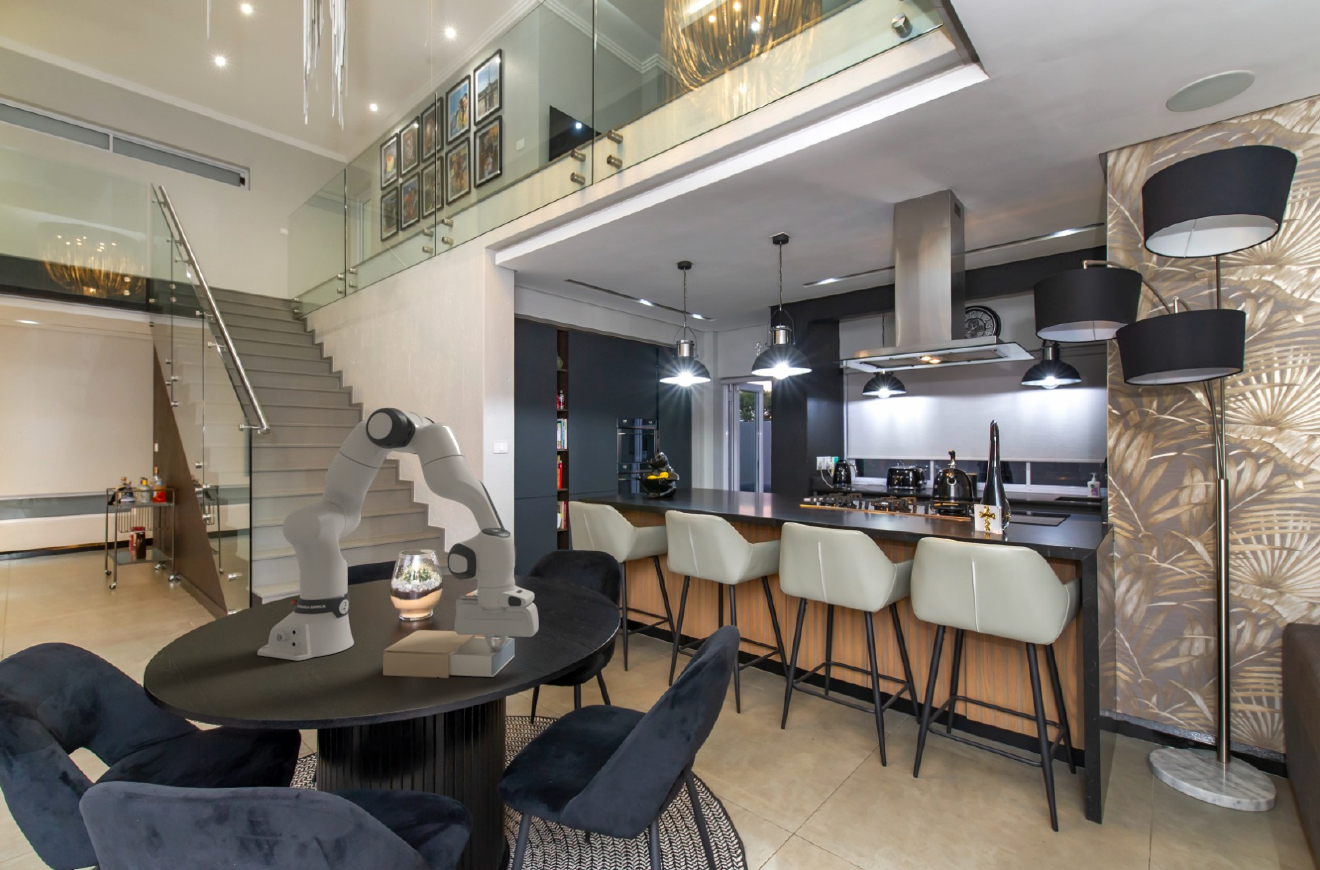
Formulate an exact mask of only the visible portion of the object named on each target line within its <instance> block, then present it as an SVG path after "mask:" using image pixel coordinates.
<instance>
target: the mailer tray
mask: <svg viewBox="0 0 1320 870" xmlns="http://www.w3.org/2000/svg"><path fill="white" fill-rule="evenodd" d="M492 639H493V641H494V643H495V644H497V645H500V643H501V641H502V640H499V637H493V638H492ZM515 640H516V639H515V638H513V637H508V639H507V641H506V642H505V644H504V646H503V647H502V648H501V649H500V650H499V651H498V652H497V653H496V654H490V647H489V646H488V644H487V642H486V641H485V637H471V638H470V639H469V640H467V641H466V642H465V643H463V644H462V645H461V646H459V647H458V648H456V649H455V650H454V651H452V652H451V653H450V654H449V676H466V677H469V676H470V677H487V678H488V677H491V678H493V677H495V676H497V674H498V673H499V672H500V671H501V670H502V669H504V668H505V666H507V664H509V663H510V661H512V660H513V658H515V655H516V654H515V652H516V651H515V648H516V646H515Z"/></svg>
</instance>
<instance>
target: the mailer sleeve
mask: <svg viewBox="0 0 1320 870" xmlns="http://www.w3.org/2000/svg"><path fill="white" fill-rule="evenodd" d="M471 637H476V635H458V634H457V633H456V632H455V630H431V629H430V630H427V629H417V630H415V631H414V632H412V633H410V634H409V635H408V636H407V635H406V636H405V637H403V638H402V639H400V640H399V641H397V642H395V643H393V644H391V645H390V646H388V647H386V648H384V649H383V650H382V655H383V656H382V657H383V658H382V669H383V670H382V675H383V676H391V677H392V676H394V677H397V676H398V677H414V678H415V677H416V678H417V677H419V678H437V677H439V678H440V679H448V678H450V675H449V654H450V653H451V652H452V651H454V650H455V649H456V648H458V647H459V646H461V645H462V644H463V643H465V642H466V641H467V640H469V639H470V638H471ZM439 678H438V679H439Z"/></svg>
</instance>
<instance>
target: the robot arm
mask: <svg viewBox="0 0 1320 870" xmlns="http://www.w3.org/2000/svg"><path fill="white" fill-rule="evenodd" d="M462 446H463V445H462V443H461V442H460V439H459V438H458V435H457V434H456V431H455V430H454V428H453V427H452V426H451V425H449V424H448V423H444V422H435V421H433V420H432V419H430V418H428V417H426V416H423V415H420V414H418V413H416V412H413V411H407V410H402V409H398V408H394V407H383V408H378V409H376V410H374V412H372V413H371V414H370V415H369V416H368V419H365V420H362V421H360V422H359V423H357V425H355V427H354V428H353V429H352V430H351V432H350V433H349V434H348V436H346V438H345V440H343V442H342V445H341V446H340V448H339V450H338V452H337V453H336V455H335V457H334V458H333V460H332V462H331V464H330V466H329V468H328V469H327V471H326V473H325V475H324V480H325V487H324V490H323V494H322V497H321V498H320V499H319V501H318V502H315V503H310V504H304V505H303V506H300V507H298V508H296V509H295V510H293V511H292V512H290V513H289V514H288V515H286V517H285V519H284V520H283V524H282V533H283V536H284V538H285V539H286V541H287V542H289V544H290V545H291V546H292V548H293V550H294V552H295V553H294V554H295V555H296V559H297V562H298V563H297V564H298V567H299V568H298V569H299V596H298V597H296V598H295V599H293V600H291V601H289V602H290V604H289V606H294V607H293V609H292V611H291V612H290V613H289V614H288V615H287V616H286V617H284V618H283V619H282V620H280V621H279V622H278V623H277V624H275V625H273V627H272V628H271V630H270V633H269V636H268V643H267V644H264V645H263V646H261V647H260V648H259V649H257V656H261V657H262V656H263V657H269V658H270V657H271V658H277V659H282V660H283V659H284V660H291V661H303V660H307V659H311V658H315V657H323V656H328V655H329V656H330V655H332V654H333V655H334V654H336V653H339V652H342V651H345V650H347V649H349V648H351V647H353V645H354V644H355V640H354V637H353V635H352V631H351V625H350V618H349V610H350V591H349V590H348V583H349V581H348V574H349V573H348V569H349V568H348V565H349V564H348V562H347V560H346V559H344V557H343V554H342V552H341V548H340V544H339V540H340V539H344V538H345V537H347V536H350V534H352V533H353V532H354V531H355V530H356V529H357V528H358V527H359V525H360V523H361V520H362V513H361V512H362V510H363V509H362V508H363V504H364V502H365V498H366V495H367V493H368V491H369V489H370V487H371V485H372V483H373V482H374V480H375V477H377V474H378V473H379V470H380V469H381V468H382V465H383V464H384V463H383V462H384V461H385V459H386V458H387V456H388V455H389V454H390V453H391V452H397V453H403V454H404V453H405V454H406V453H407V454H411V455H412V454H413V455H417V457H418V460H419V462H420V468H421V470H422V471H421V472H422V475H423V478H424V482H425V484H426V485H427V487H428V489H429V490H430V491H431V492H432V493H433V494H435V495H436V496H438V497H441V498H443V499H447V500H450V501H454V502H457V503H460V504H462V505H463V506H464V507H465V506H466V508H468V509H469V510H470V511H471V513H472V515H473V517H474V519H475V521H476V523H477V526H478V528H479V532H478V533H477V534H476V535H475V536H473V537H471V538H468V539H466V540H462V541H460V542H458V543H457V542H456V543H454V544H453V545H452V546H451V548H450V549H449V551H448V554H447V567H448V571H449V573H450V574H451V575H452V577H454V578H455V579H457V580H458V581H459V580H460V581H468V580H473V579H474V580H475V579H476V580H477V585H476V586H477V588H476V590H477V595H471V596H467V595H466V594H463V595H461V596H459V597H457V599H456V601H455V611H456V613H455V619H454V631H455V632H456V633H457V634H458V635H485V641H486V642H487V644H488V646H489V647H490V654H496V653H497V652H498V651H499V650H500V649H501V648H502V647H503V646H504V644H505V642H506V641H507V639H508V638H509V637H520V638H521V637H523V638H524V637H527V638H528V637H529V638H531V637H533V636H534V635H536V633H538V631H539V626H540V625H539V624H540V623H539V614H538V613H539V612H538V608H537V606H536V604H535V603H534V602H533V601H534V600H535V593H534V591H531V590H528V589H525V588H523V587H520V586H517V585H516V579H515V577H514V569H515V567H516V559H517V547H516V544H515V542H514V538H513V535H512V533H511V532H510V531H509V530H508V529H505V526H504V524H503V522H502V520H501V517H500V515H499V514H498V513H499V512H498V511H497V509H496V506H495V505H494V502H493V500H492V498H491V496H490V492H488V490H487V488H486V486H485V485H484V483H483V482H482V481H481V480H479V479H478V477H476V476H475V474H474V472H473V471H472V470H471V468H470V466H469V464H468V461H467V458H466V454H465V452H464V450H463V447H462ZM461 599H462V600H461ZM495 637H498V638H499V640H502V641H501V643H500V645H497V644H495V643H494V641H493V639H492V638H495Z"/></svg>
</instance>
